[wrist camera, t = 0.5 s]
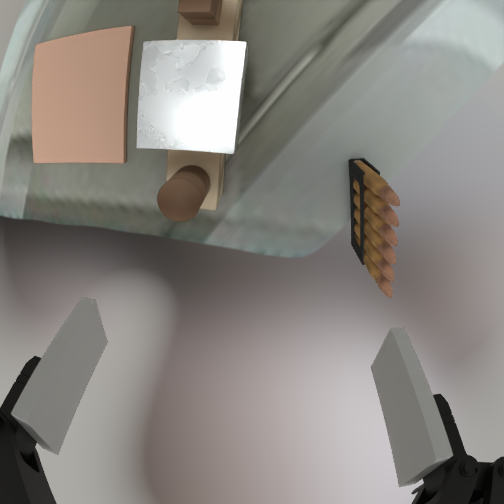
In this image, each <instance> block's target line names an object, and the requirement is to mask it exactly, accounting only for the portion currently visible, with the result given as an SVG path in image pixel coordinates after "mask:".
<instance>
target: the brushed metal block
mask: <svg viewBox="0 0 504 504" xmlns="http://www.w3.org/2000/svg"><path fill="white" fill-rule="evenodd" d="M248 51H249V49H248V46H247V43H246V42H238V41H221V40H162V41H145V42H144V43H143V52H142V62H141V73H140V85H139V101H138V122H137V148H153V149H174V150H191V151H204V152H216V153H227V154H234V152H235V150H236V148H237V146H238V139H239V129H240V120H241V111H242V102H243V93H244V85H245V76H246V68H247V59H248Z"/></svg>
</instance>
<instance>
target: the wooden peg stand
mask: <svg viewBox="0 0 504 504" xmlns="http://www.w3.org/2000/svg"><path fill="white" fill-rule="evenodd" d="M242 7H243V0H179V6H178V13H179V14H180V15H179V22H178V30H177V38H176V40H221V41H238V37H239V29H240V22H241V14H242ZM225 157H226V153H216V152H204V151H191V150H174V149H168V150H167V182H166V183H165V184H164V185H163V186H162V187H161V189H160V190H159V193H158V197H157V202H158V206H159V209H160V210H161V212H162V213H163V214H164V215H165V216H166V217H167V218H169V219H170V220H173V221H177V222H184V221H188V220H190V219H192V218H193V217H194V216H195V215H196V214H197V213H198V211H199V209H208V210H216V209H217V206H218V204H219V201H220V199H221V196H222V193H223V180H224V169H225Z"/></svg>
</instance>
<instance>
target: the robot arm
mask: <svg viewBox="0 0 504 504" xmlns="http://www.w3.org/2000/svg"><path fill="white" fill-rule="evenodd" d="M107 343H108V342H107V338H106V335H105V331H104V328H103V325H102V321H101V318H100V314H99V310H98V307H97V303H96V300H95V299H91V298H85V297H81V299H80V300H79V302H78V303H77V305H76V306H75V307H74V309H73V310H72V312H71V313H70V315H69V316H68V318H67V319H66V321H65V322H64V324H63V325H62V327H61V328H60V330H59V332H58V333H57V334H56V336H55V338H54V339H53V341H52V342H51V344H50V346H49V347H48V349H47V350H46V352H45V353H44V355H43V357H42V358H40V357H37V356H34V357H33V358H32V359H30V360H29V361H28V362H27V363H26V364H25V366H24V368H23V369H22V371H21V372H20V373H21V374H20V375H19V376H18V377H17V379H16V382H15V383H14V384H13V386H12V388H11V390H10V391H9V393H8V395H7V397H6V399H5V400H4V402H3V404H2V406H1V407H0V504H56V501H55V499H54V497H53V494H52V492H51V490H50V487H49V484H48V481H47V479H46V476H45V473H44V471H43V468H42V465H41V462H40V459H39V456H38V453H37V450H36V448H35V446H36V443H38V444H39V445H40V446H41V447H42V448H43V449H46V450H48V451H50V452H52V453H54V454H57V455H58V454H59V451H60V448H61V446H62V444H63V441H64V438H65V436H66V433H67V431H68V429H69V426H70V424H71V421H72V419H73V416H74V414H75V412H76V409H77V407H78V405H79V403H80V400H81V398H82V396H83V393H84V391H85V389H86V387H87V385H88V382H89V380H90V378H91V376H92V374H93V372H94V369H95V367H96V365H97V363H98V361H99V359H100V357H101V355H102V353H103V351H104V349H105V347H106V345H107ZM371 370H372V373H373V377H374V380H375V384H376V388H377V392H378V396H379V399H380V403H381V406H382V411H383V415H384V419H385V423H386V427H387V432H388V436H389V440H390V445H391V449H392V453H393V458H394V463H395V468H396V473H397V478H398V484H399V487H402V486H407V485H411V484H415V483H417V482H418V481H419V480H421V479H423V481H424V484H423V485H421V486H419V487H418V488H416V489H415V490H414V491H413V492H412V494H415V493H416V492H418V493H417V495H416V497H415V499H414V500H413V502H412V504H504V457H500V458H499V459H497V460H496V461H495V462H493V463H489V462H477V460H476V459H475V458H474V457H472V456H470V455H467V454H466V452H465V449H464V446H463V443H462V440H461V437H460V434H459V431H458V428H457V426H456V423H454V422H455V420H454V417H453V415H452V412H451V409H450V407H449V404H448V402H447V401H446V400H445V398H444V397H443V396H442V395H441V394H435V395H432V392H431V389H430V386H429V384H428V381H427V379H426V377H425V374H424V371H423V369H422V366H421V364H420V361H419V359H418V357H417V354H416V352H415V350H414V347H413V345H412V343H411V341H410V338H409V336H408V334H407V331H406V329H405V328H390V330H389V332H388V334H387V336H386V338H385V340H384V342H383V344H382V346H381V348H380V350H379V352H378V354H377V356H376V358H375V360H374V362H373V364H372V366H371Z"/></svg>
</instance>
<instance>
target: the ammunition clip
mask: <svg viewBox="0 0 504 504" xmlns="http://www.w3.org/2000/svg"><path fill="white" fill-rule="evenodd" d="M349 176H350V198H351V245H352V247H353V248H354V250H355V252H356V254H357V256H358V258H359V259H360V261H361V263H362V265H366V267H367V269H368V271H369V273H370V275H371V276H372V277H373V278H374V279H375V281H376V283H377V284H378V286H379V288H380V289H381V290H382V292H383V293H384V294H385V295H386V296H387V297H389V298H391V297H392V287H391V284H390V281H392V282H393V281H394V272H393V269H392V266H391V264H395V263H396V256H395V253H394V251H393V249H392V247H391V245H393V246H397V244H398V240H397V237H396V234H395V232H394V231H393V229H392V228H391V226H390V225H393V226H395V227H398V226H399V221H398V218H397V215H396V214H395V212H394V211H393V210H392V208H391V207H390V206H389V204H390V205H393V206H399V205H400V201H399V198H398V196H397V194H396V193H395V192H394V191H393V190H392V189H391V188H390V186H388V183H387V182H386V181H385V180H384V179H383V178H382V177H381V176H380V172H379V171H378V170H377V169H376V168H375V167H373V166H372V165H371V164H370V163H369V162H368V161H366V160H365V159H364V158H361V159H349ZM390 244H391V245H390ZM389 262H390V263H391V264H390V263H389Z"/></svg>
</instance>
